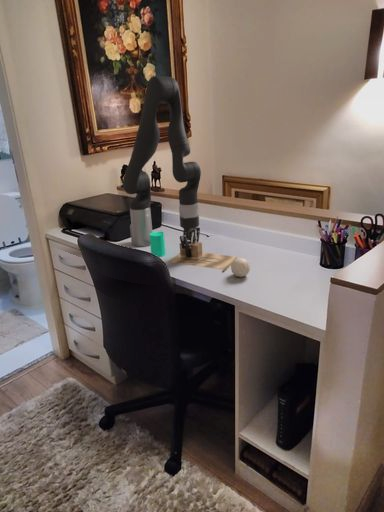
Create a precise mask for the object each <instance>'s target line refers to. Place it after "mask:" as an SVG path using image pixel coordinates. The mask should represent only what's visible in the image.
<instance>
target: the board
mask: <svg viewBox="0 0 384 512" xmlns="http://www.w3.org/2000/svg"><path fill="white" fill-rule="evenodd" d="M235 259H237V256H235V255H224V254H218V253H209V252H202V257H201V258H200V259H199V260H194V259H186V258H181V257H180V252H179V253H177V255H175V256H173V258H171V259H170V260H168V263H175V264H181V265H188V266H194V267H195V266H196V267H203V268H208V269H209V268H210V269H216V270H217V269H218V270H222V271H221V273H225V272H226V271H228V269H229V268H231V264H232V262H233V261H234V260H235Z"/></svg>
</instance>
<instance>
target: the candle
mask: <svg viewBox="0 0 384 512" xmlns="http://www.w3.org/2000/svg"><path fill="white" fill-rule="evenodd" d="M149 235H150V245H149V247H150V254H151V253H152V254H154V255H157V256H158V257H157V258H160V257H164V256H166V243H165V233H164V231H157V229H156V230H155V231H152V233H151V234H149Z"/></svg>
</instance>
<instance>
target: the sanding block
mask: <svg viewBox="0 0 384 512" xmlns="http://www.w3.org/2000/svg"><path fill="white" fill-rule="evenodd" d="M188 245H189V243H188ZM179 253H180V257H181V258H186V259H194V260H199V259H200V258H201V257H202V253H203V242H193V243H192V244H191V256H192V257H191V258H187V257H186V249H182V245H181V242H180V243H179Z"/></svg>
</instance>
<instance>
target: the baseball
mask: <svg viewBox="0 0 384 512" xmlns="http://www.w3.org/2000/svg"><path fill="white" fill-rule="evenodd" d="M230 269H231V272H232V274H233V275H234V276H235V277H240V278H242V277H246V276H247V275H248V274H249V272H250V270H251V266H250V262H249V261H248V260H247V259H245V258H243V257H238V258H237V259H235V260H234V261H233V262H232V264H231V266H230Z"/></svg>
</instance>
